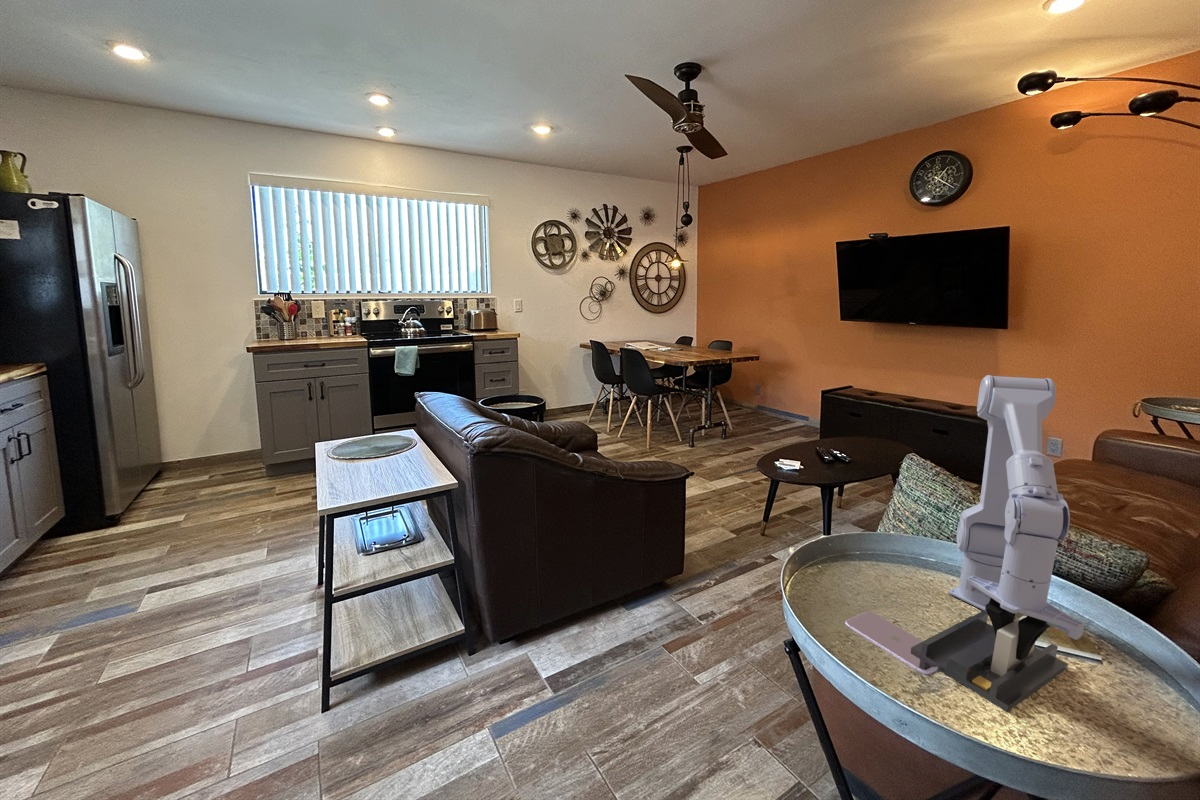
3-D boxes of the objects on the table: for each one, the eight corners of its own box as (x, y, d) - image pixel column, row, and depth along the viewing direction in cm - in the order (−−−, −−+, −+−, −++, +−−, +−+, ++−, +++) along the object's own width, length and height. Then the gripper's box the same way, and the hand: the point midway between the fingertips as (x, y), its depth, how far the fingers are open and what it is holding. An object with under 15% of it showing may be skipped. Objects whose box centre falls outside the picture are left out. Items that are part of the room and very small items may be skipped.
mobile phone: (869, 608, 97) (954, 656, 84) (868, 613, 97) (953, 662, 84) (842, 620, 94) (926, 673, 81) (841, 625, 94) (925, 678, 81)
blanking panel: (1017, 653, 84) (1024, 615, 83) (1031, 661, 82) (1039, 622, 81) (990, 670, 80) (997, 630, 79) (1005, 678, 79) (1012, 638, 77)
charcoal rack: (971, 620, 94) (973, 605, 93) (1067, 669, 82) (1070, 652, 81) (910, 652, 86) (912, 636, 85) (1007, 711, 74) (1010, 693, 73)
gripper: (959, 558, 82) (948, 633, 85) (1073, 605, 70) (1056, 692, 72) (983, 547, 85) (972, 620, 88) (1097, 591, 73) (1079, 675, 76)
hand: (1011, 652), depth 81 cm, fingers closed on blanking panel, 2 cm apart
